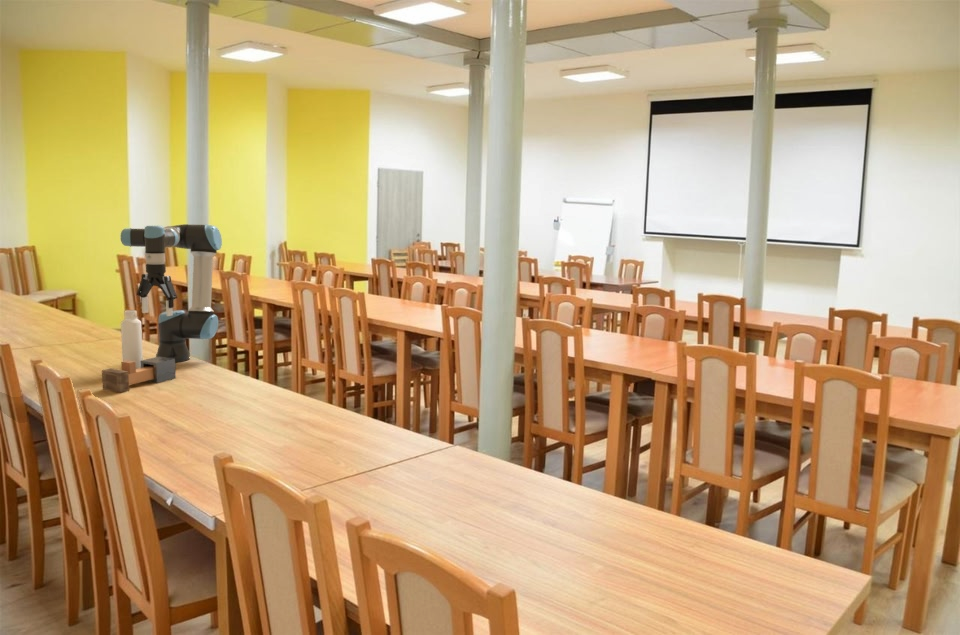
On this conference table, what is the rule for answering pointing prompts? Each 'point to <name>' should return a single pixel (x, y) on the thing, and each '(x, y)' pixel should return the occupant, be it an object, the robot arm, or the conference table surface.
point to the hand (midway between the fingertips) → (157, 314)
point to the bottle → (132, 338)
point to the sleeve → (160, 368)
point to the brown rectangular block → (115, 380)
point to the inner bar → (137, 372)
